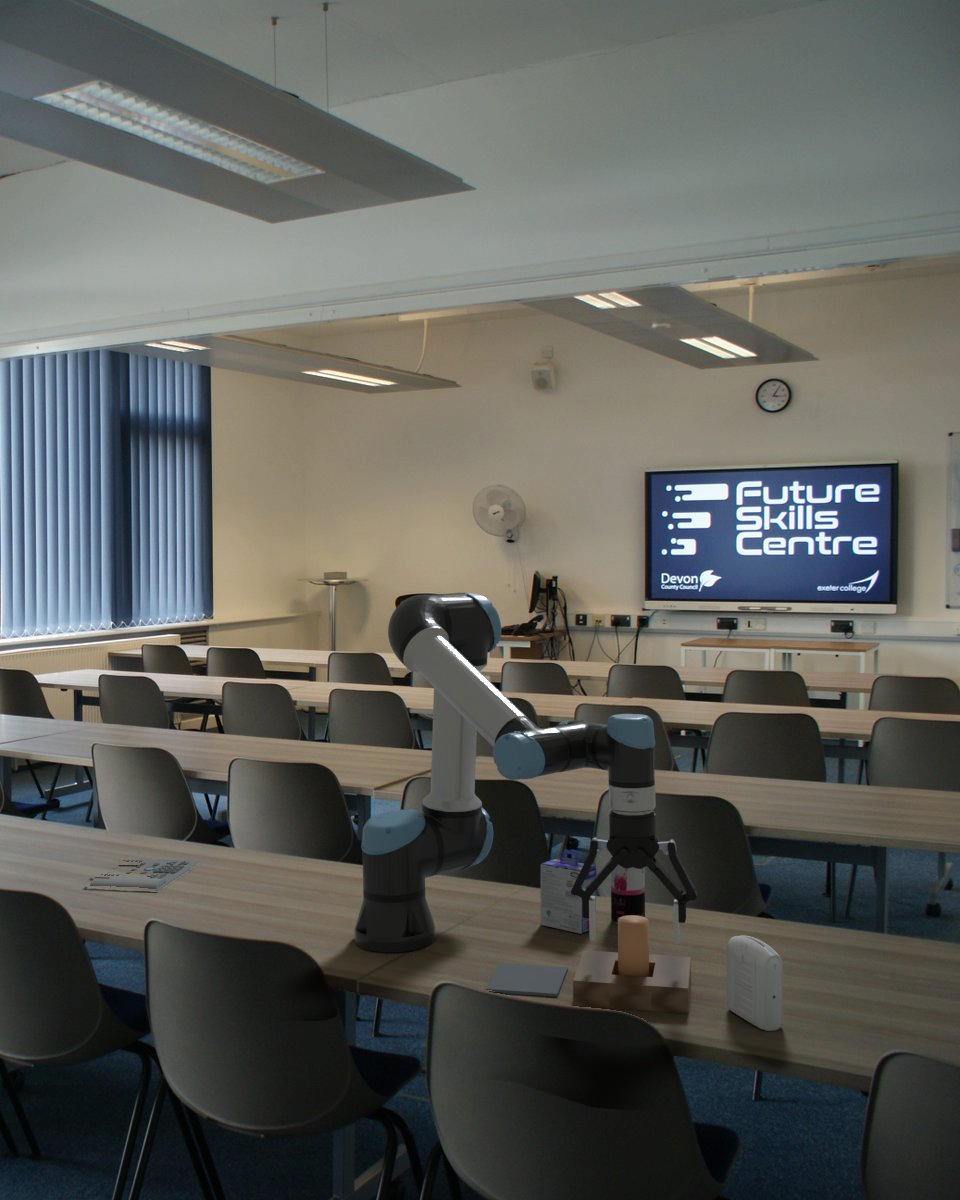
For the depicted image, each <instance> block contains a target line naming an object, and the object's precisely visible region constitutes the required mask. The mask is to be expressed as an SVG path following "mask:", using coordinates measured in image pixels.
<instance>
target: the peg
mask: <svg viewBox="0 0 960 1200" xmlns="http://www.w3.org/2000/svg"><path fill="white" fill-rule="evenodd" d="M649 923H650V920H649V919H648V918H647V917H646V916H645V917H642V916H635V915H628V916H622V917H620V918H618V925H617V953H618V975H627V976H642V977H649V954H650V924H649Z"/></svg>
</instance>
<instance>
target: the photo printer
mask: <svg viewBox="0 0 960 1200" xmlns="http://www.w3.org/2000/svg"><path fill="white" fill-rule="evenodd" d="M726 1006H727V1009H728V1010H730V1011H731V1012H732V1013H734V1014H736V1016H739V1017H740V1018H742V1019H743V1020H745V1021H746V1022H748V1023H750V1024H751V1025H753V1026H755V1027H756V1028H758V1029H761V1030H764V1031H767V1032H774V1031H777V1030H779V1029H780V1028H781V1027H782V1025H783V1019H784V962H783V960H782V958H781V956H780V955H779V954H778V952H777V951H776V950H775V949H773V948H772V947H771V946H770V945H769V944H767V943H765V942H764V941H762V940H761V939H759V938H756V937H753V936H749V935H745V934H744V935H735V936H732V937H731V938H730V939H729V940H728V943H727V946H726Z"/></svg>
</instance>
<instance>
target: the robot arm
mask: <svg viewBox="0 0 960 1200" xmlns="http://www.w3.org/2000/svg"><path fill="white" fill-rule="evenodd" d="M498 612H499V611H497V609H496V608H495V607H494V605H493V603H492V601H491V600H490V599H489V598H487V597H486V596H484V595H482V594H479V593H469V592H455V593H453V592H452V593H440V594H439V593H438V594H418V595H413V596H410V597H408V598H406V599H405V600H403V601H402V602H401V603H400V604H398V605H397V606H396V608H395V609H394V611H393V612H392V615H391V616H390V618H389V621H388V627H387V635H388V641H389V645H390V647H391V650H392V652H393V653H394V655H395V656H396V658H397V659H398V660H399V662H401V664H402V665H403V666H405V668H406V669H407V670H409V671H410V672H412V673H419V674H420V675H421V676H422V677H423V678H425V680H426V681H427V682H428V683H429V684H430V685H431V686H432V687H433V705H432V707H433V708H432V738H431V739H432V740H431V765H430V766H431V767H430V792H429V793H428V794H427V795H426V796H425V797H424V798H423V799H422V801H421V802H422V803H421V811H419V810H416V809H410V808H409V809H407V808H403V809H398V810H395V809H393V810H388V811H384V812H381V813H378V814H376V815H374V816H372V817H370V818H368V819H367V821H365V823H364V825H363V828H362V838H361V839H362V840H361V847H360V848H361V850H362V889H363V891H362V893H363V895H362V896H363V897H362V899H363V900H362V904H361V906H360V910H359V913H358V915H357V920H356V923H355V926H354V942H355V944H356V946H358V947H360V948H361V949H364V950H367V951H372V952H376V953H377V952H378V953H403V952H409V951H410V952H411V951H416V950H419V949H423V948H425V947H427V946H430V945H431V944H432V943H434V941H435V940H436V924H435V921H434V918H433V916H432V912H431V909H430V908H429V907H430V906H429V904H428V900H427V898H426V879H427V878H430V877H434V876H437V875H442V874H446V873H451V872H455V871H462V870H467V869H468V868H470V867H472V866H473V867H474V866H476V865H478V864H480V863H482V861H483V860H486V858H487V857H488V855H489V853H490V851H491V849H492V845H493V841H494V828H493V822H491V821H490V819H491V817H490V815H489V813H488V812H487V810H485V809H484V808H483V801H482V800H481V799H480V798H479V797H478V796H477V795H476V792H475V789H476V787H475V785H476V765H477V761H476V760H477V737H478V736H477V734H480V735H481V736H482V737H483V738H484V740H485V741H487V742H488V743H489V745H491V746H492V748H493V749H492V757H493V758H492V759H493V763H494V764H496V769H497V771H498V773H499V774H500V775H501V776H502V777H504V778H505V779H508V780H511V781H512V780H513V781H517V780H532V779H534V778H538V777H542V776H548V775H551V774H556V773H557V774H558V773H563V772H564V773H565V772H569V771H575V770H579V769H580V770H581V769H595V770H602V771H607V773H608V808H609V809H610V810H611V811H610V812H609V814H608V815H609V816H608V819H609V820H608V821H609V823H608V824H609V829H608V830H609V837H608V840H607V839H606V840H605V839H599V838H598V836H593V837H592V838H591V841H590V843H589V853H588V855H587V857H586V859H585V861H584V863H583V864H584V865H583V867H582V869H581V871H580V873H579V875H578V877H577V879H576V881H575V883H574V885H573V887H572V890H571V894H572V895H577V896H579V897H581V898H582V909H583V917H584V918H589V931H588V933H589V941H595V939H596V937H597V901H596V902H595V896H591V895H592V894H593V893H594V892H595V890H596V891H597V890H598V889H599V887H600V886H602V883H603V882H604V881H605V880H606V879H607V878H608V877H609V875H611V872H612V871H613V870H614V869H615V868H616V867H617V865H618V864H619V865H620V866H621V867H623V868H632V867H633V868H637V869H643V868H644V867H645V868H646V867H647V868H648V869H649V870H650V872H651V873H653V874H654V875H655V877H656V878H657V879H658V880H659V881H660V882H661V883H662V885H663V886H664V887H665V888H666V889H667V890H668V893H670V894H671V895H672V896H673V945H676V946H677V945H680V923H681V924H685V923H686V921H687V903H688V902H690V901H696V899H697V897H698V890H697V888H696V887H695V885H694V883H693V881H692V879H691V877H690V875H689V873H688V871H687V869H686V867H685V866H684V863H683V861H682V860H681V857H680V856H679V853H678V850H677V844H676V843H677V842H676V841H675V840H676V839H672V838H670V839H669V840H668V841H658V839H657V822H656V821H657V819H656V818H657V817H656V814H657V813H655V811H654V810H655V808H656V807H657V806H656V804H657V803H656V778H655V775H656V774H655V768H656V767H655V760H656V757H655V756H656V755H655V754H656V739H655V738H656V737H655V728H654V721H653V719H652V718H651V717H650V716H649V715H646V714H641V713H640V714H639V713H634V714H633V713H618V714H613V715H611V716H609V717H608V719H607V724H603V723H596V722H590V721H584V720H581V719H576V720H563V721H561V722H559V723H558V724H557V725H556V726H550V727H542V728H540V727H538V726H537V725H536V724H535V723H534V722H533V721H532V720H531V719H530V718H528V716H527V715H526V714H525V713H524V712H523V711H521V710H520V709H519V708H518V706H516V705H515V704H514V703H513V702H512V701H511V700H510V699H509V698H508V697H507V696H506V695H505V694H504V693H503V692H501V690H500V689H498V688H497V687H496V686H495V685H494V684H493V683H492V682H491V681H490V680H489V679H488V678H487V677H486V676H485V675H484V674H483V673H482V672H481V671H482V670H483V669H484V668H486V666H487V665H488V654H489V653H490V652H493V650H495V649H496V647H497V645H498V644H499V643H500V640H501V637H502V624H501V623H502V622H501V618H500V615H499V613H498ZM477 732H478V733H477ZM604 849H607V851H608V852H609V854H610V856H611V855H612V856H613V857H612V858H611V857H610V859H609V861H608V862H607V863H606V864H605V866H603V868H602V869H601V870H600V871H598V873H597V874H596V877H595V878H594V879H593V880H592V881H591V883H590V884H589V885H588V886H587V887H586V888H583V887H581V886H582V884H583V882H584V880H585V878H586V876H587V874H588V872H589V870H590V868H591V866H592V865H594V861H595V860H596V857H597V855H598V854H601V853H602V852H603V850H604ZM659 850H660V851H662V852H663V854H664V855H665V856H668V859H669V860H670V861H669V862H670V863H671V865H672V866H673V868H674V870H675V873H676V874H677V876H678V879H679V880H680V882H681V885H682V886H683V888H684V890H685V891H683V889H682V888H681V887H680V886H679V885H678V884H677V882H676V881H675V880H674V879H673V877H672V876H671V875H670V874H669V873H668V872H667V871H666V869H665V868H664V867H663V866H662V865H661V863H660V861H658V859H657V858H656V857H655V856H656V855H657V854H658V852H659Z"/></svg>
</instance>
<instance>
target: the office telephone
mask: <svg viewBox="0 0 960 1200" xmlns="http://www.w3.org/2000/svg"><path fill="white" fill-rule="evenodd" d="M126 860H127V861H126ZM130 860H131V862H133V861H134V860H135V862H138V861H139V862H138V863H140V862H141V864H140V865H138V866H135V867H136V868H140V867H141V866H142V867H146V868H144V870H143V872H141V871H142V870H141V871H140V872H141V873H140V874H146V873H147V874H148V876H147V877H150V878H127V877H95V878H94V879H93V880H92V881H91V882H90V883H91V884H90V886H110V887H111V886H116V887H139V888H148V889H149V890H156V891H158V890H160V889H162V888H163V887H165V886H166V885H168V884H169V883H170V882H172V881H173V880H175V879H176V878H178V877H179V876H181V875H182V874H184V873H185V872H186V871H188V870H189V869H190V868H191V867H193V866H195V865H196V864H197V863H199V862H200V861H201V860H200V859H199V860H197V859H162V858H161V859H157V858H156V859H150V860H149V859H125V860H123V861H126V862H129V861H130ZM146 860H147V862H146ZM142 861H144V862H142ZM146 863H147V864H146ZM145 864H146V865H145ZM148 864H149V865H148ZM155 868H156V869H155ZM135 870H137V869H134V868H131V870H130V871H135ZM151 870H152V871H151ZM137 872H138V871H137ZM130 873H132V872H129V871H128V872H126V873H125V874H130ZM111 874H112V873H111ZM111 874H109V875H108V873H107V874H105V875H104V876H106V875H107V876H110V875H111ZM101 875H103V874H101ZM114 875H115V874H114V873H113V875H111V876H114ZM119 875H121V874H119V873H118V874H116V876H119ZM146 890H147V889H146Z"/></svg>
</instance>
